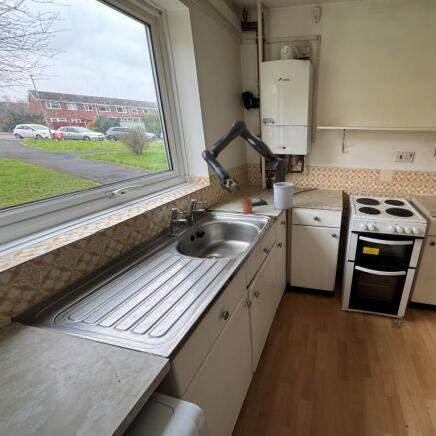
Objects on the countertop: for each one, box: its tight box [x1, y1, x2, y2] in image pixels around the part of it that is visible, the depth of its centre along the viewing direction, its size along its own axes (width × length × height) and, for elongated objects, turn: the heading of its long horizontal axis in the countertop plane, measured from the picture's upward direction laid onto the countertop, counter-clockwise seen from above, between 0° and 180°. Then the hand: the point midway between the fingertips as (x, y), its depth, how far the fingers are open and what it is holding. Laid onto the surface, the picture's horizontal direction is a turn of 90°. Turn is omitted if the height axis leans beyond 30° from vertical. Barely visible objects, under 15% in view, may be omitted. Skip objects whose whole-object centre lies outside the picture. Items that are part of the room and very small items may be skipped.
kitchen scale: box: [251, 197, 268, 208], centre depth 184 cm, size 16×14×3 cm
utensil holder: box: [272, 181, 294, 211], centre depth 172 cm, size 15×15×18 cm
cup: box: [241, 196, 253, 214], centre depth 162 cm, size 6×6×10 cm
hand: (235, 191), depth 164 cm, fingers open, 8 cm apart
